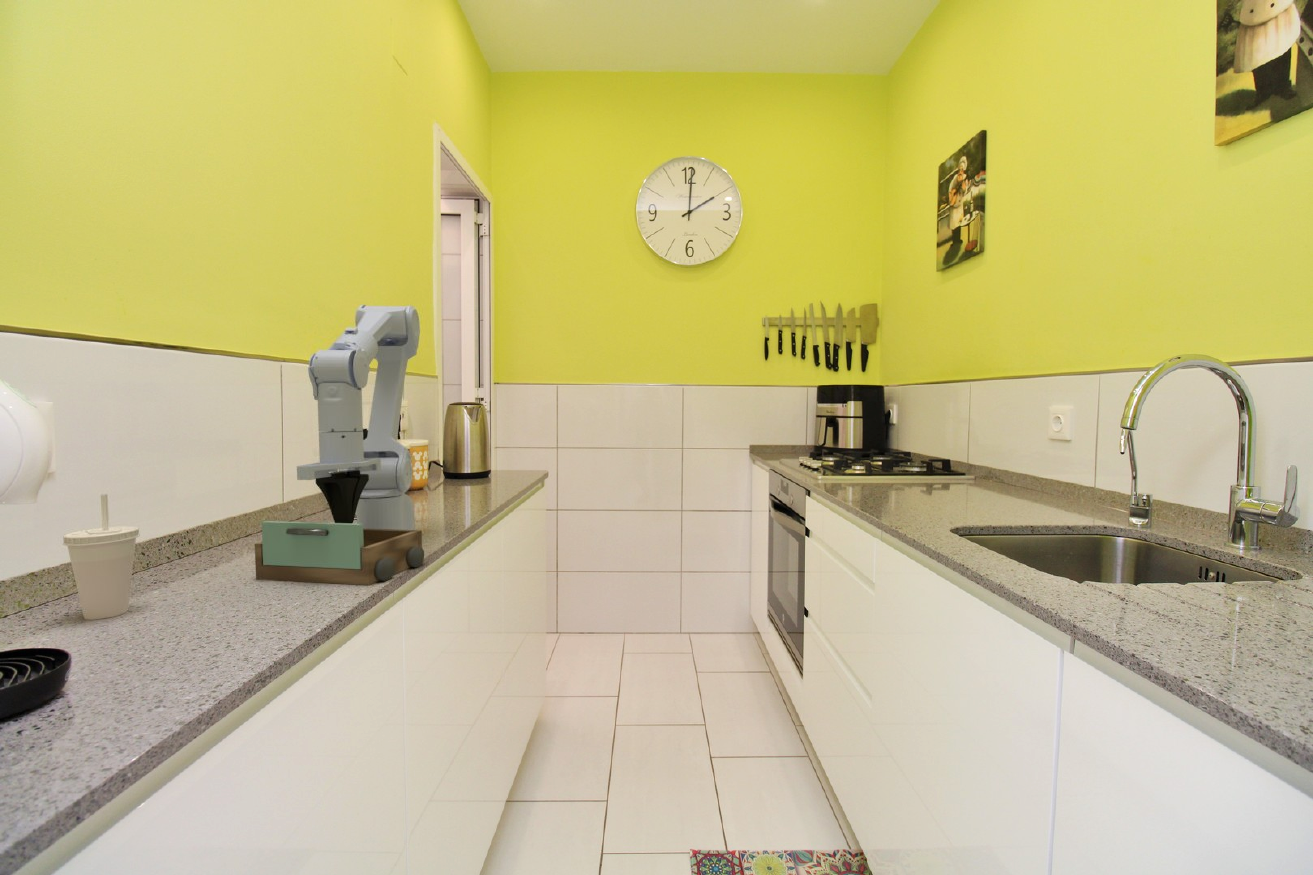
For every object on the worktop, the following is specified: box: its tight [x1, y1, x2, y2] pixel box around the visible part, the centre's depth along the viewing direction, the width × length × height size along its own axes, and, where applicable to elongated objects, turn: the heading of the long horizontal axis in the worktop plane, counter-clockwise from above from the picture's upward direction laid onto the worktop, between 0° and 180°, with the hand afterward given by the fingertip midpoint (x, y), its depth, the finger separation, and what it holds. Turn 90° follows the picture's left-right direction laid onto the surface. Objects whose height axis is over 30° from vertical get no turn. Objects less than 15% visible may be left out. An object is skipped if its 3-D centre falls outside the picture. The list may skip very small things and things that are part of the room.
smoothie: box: [62, 493, 140, 621], centre depth 66 cm, size 6×6×14 cm
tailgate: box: [261, 520, 364, 569], centre depth 78 cm, size 2×15×6 cm, turn 79°
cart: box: [254, 529, 425, 586], centre depth 84 cm, size 12×20×5 cm, turn 79°
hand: (344, 523), depth 85 cm, fingers closed
